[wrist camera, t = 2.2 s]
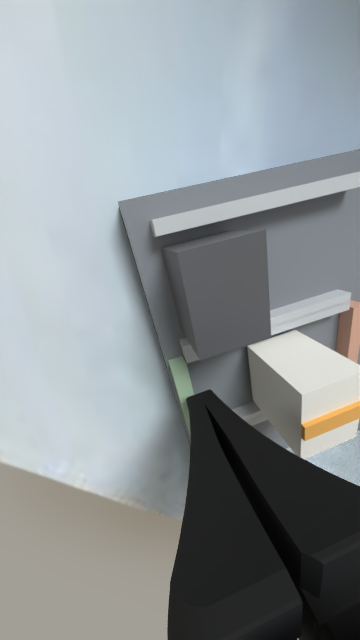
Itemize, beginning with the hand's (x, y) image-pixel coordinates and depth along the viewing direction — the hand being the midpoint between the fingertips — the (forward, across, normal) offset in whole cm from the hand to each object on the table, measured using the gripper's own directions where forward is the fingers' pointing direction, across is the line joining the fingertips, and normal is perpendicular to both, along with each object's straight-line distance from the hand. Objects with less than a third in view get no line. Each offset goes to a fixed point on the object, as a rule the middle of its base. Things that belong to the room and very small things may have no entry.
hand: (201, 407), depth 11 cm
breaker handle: (+1, -5, 0) cm, 5 cm away
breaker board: (+3, -7, 0) cm, 7 cm away
